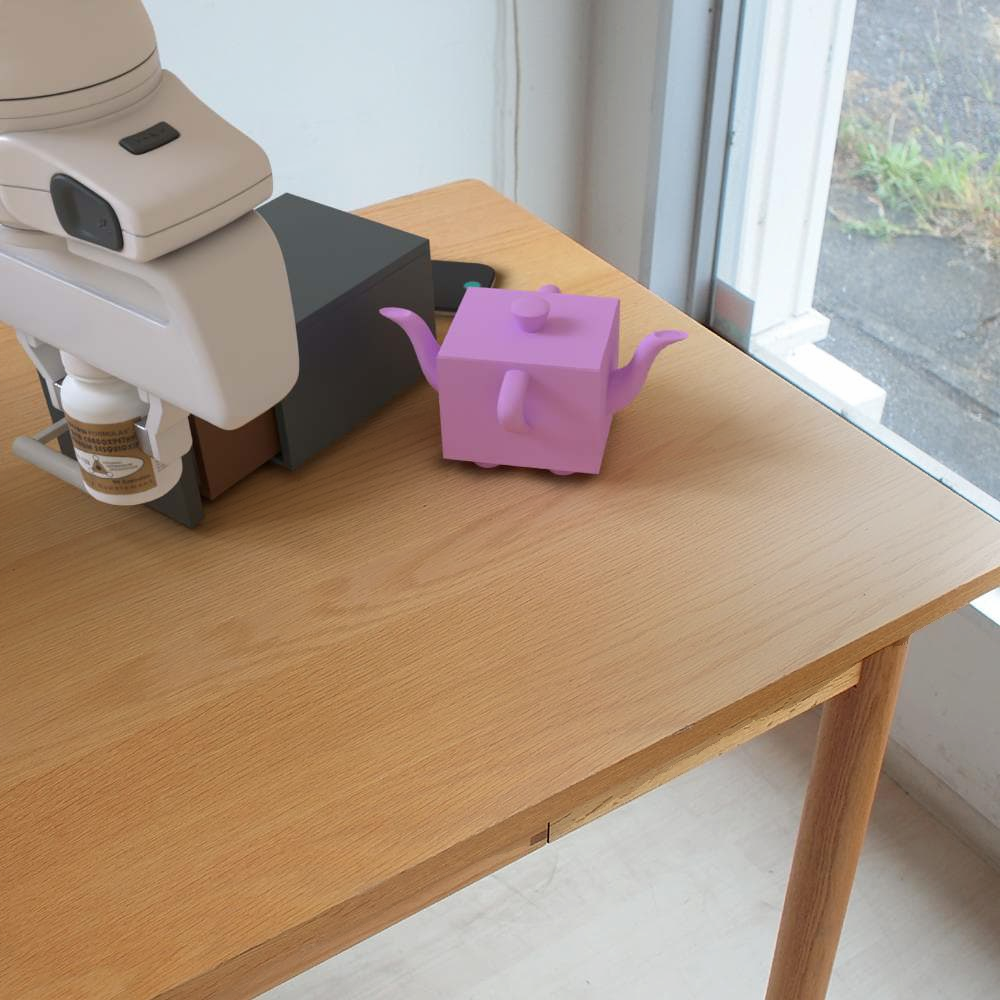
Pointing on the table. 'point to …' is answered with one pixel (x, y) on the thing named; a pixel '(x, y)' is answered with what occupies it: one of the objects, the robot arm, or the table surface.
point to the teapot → (531, 376)
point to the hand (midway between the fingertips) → (123, 430)
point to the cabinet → (345, 318)
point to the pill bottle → (111, 436)
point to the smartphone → (457, 283)
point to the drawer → (204, 466)
